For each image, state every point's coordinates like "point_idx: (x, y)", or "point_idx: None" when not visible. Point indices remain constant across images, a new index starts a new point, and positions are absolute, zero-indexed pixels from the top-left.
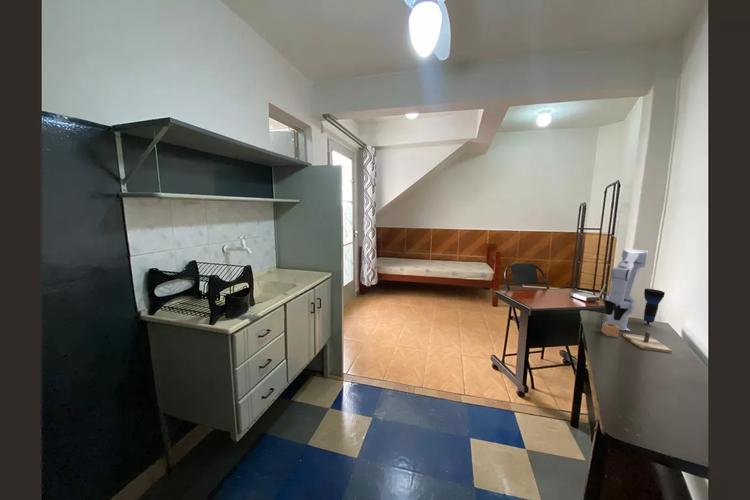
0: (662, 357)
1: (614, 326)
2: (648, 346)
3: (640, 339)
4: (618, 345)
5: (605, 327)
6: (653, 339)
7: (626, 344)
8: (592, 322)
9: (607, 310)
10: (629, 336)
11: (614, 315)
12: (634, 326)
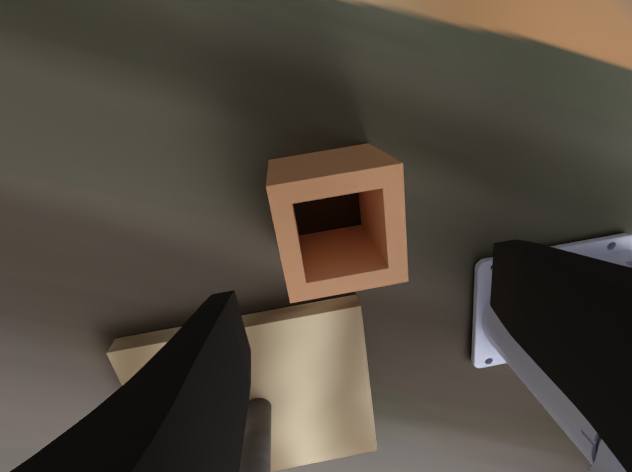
0: (43, 419)
1: (354, 266)
2: None
3: (276, 385)
4: (50, 201)
5: (314, 168)
6: (329, 449)
7: (138, 272)
8: (604, 123)
9: (553, 284)
10: (300, 333)
11: (180, 336)
12: None
